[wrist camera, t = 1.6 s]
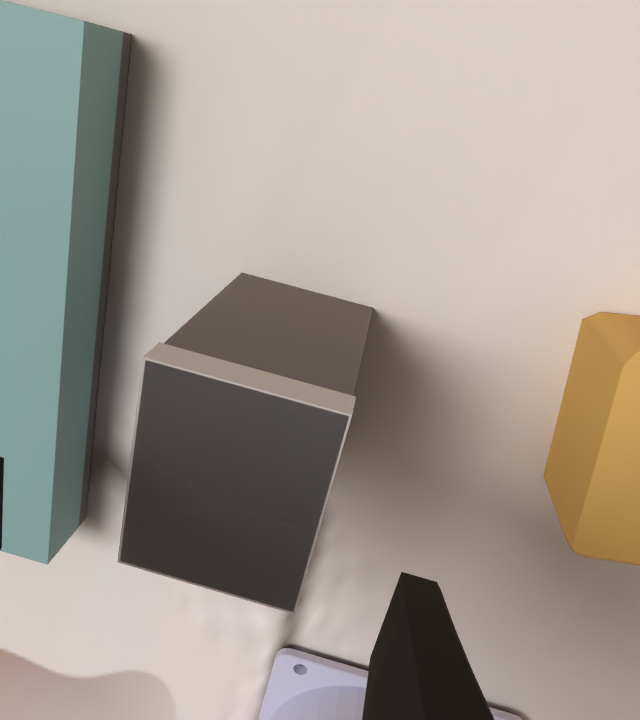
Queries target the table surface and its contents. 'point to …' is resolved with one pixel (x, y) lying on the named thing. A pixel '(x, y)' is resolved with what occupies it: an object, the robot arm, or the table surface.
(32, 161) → the outlet block
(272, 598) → the plug
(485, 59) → the table surface
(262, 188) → the table surface
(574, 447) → the rubber stamp
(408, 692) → the robot arm
